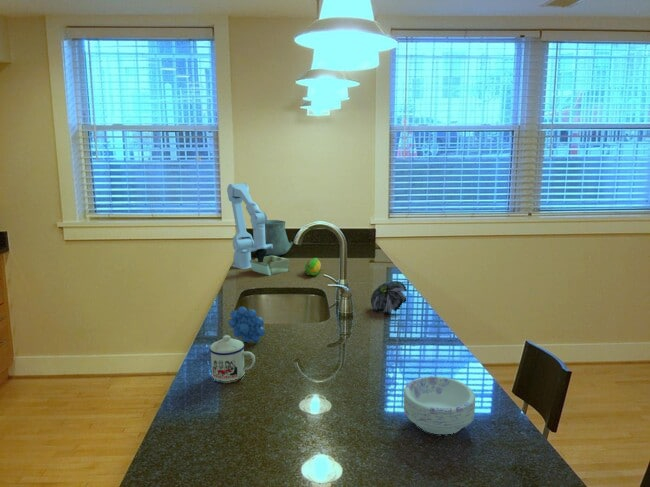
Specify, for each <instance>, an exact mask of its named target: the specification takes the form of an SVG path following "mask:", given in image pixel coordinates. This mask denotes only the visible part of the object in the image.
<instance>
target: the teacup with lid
mask: <svg viewBox="0 0 650 487" xmlns="http://www.w3.org/2000/svg"><path fill="white" fill-rule="evenodd" d="M209 351H210V360H211V362H210V363H211V377H212V376H213V378H214V379H217V380H221V381H230V380H235V379H238V378H241V377H242V376H243V375H244V374H245V372H246V370H250V369H251V368H253V367H254V365H255V363H256V356H255V354H254V353H253V352H251V351H248V350H247V351H245V343H244V342H243V340H242V341H241V340H239V339H236V338H231V336H230V335H229V334H225V335H223V336H222V339H220V340H217V341H214V342H213V343H212V344H210V347H209ZM245 356H249V357H251V363H250V365H245ZM244 376H245V375H244ZM213 378H212V379H213Z"/></svg>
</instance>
